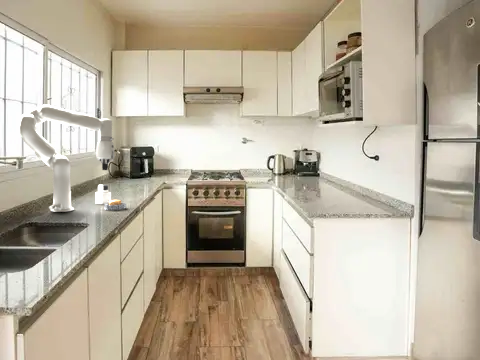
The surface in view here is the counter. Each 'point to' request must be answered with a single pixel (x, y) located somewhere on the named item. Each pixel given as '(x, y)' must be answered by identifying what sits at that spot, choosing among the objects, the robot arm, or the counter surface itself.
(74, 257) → the counter surface
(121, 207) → the faceted metal bowl
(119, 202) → the pale yellow rounded lump
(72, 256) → the counter surface
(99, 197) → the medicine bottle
